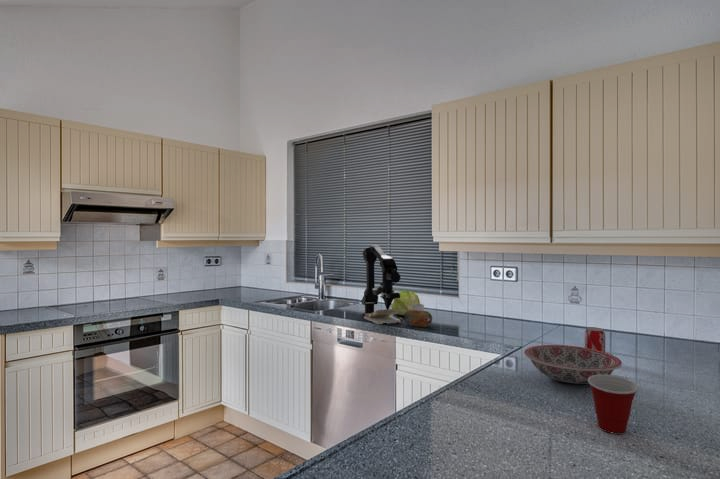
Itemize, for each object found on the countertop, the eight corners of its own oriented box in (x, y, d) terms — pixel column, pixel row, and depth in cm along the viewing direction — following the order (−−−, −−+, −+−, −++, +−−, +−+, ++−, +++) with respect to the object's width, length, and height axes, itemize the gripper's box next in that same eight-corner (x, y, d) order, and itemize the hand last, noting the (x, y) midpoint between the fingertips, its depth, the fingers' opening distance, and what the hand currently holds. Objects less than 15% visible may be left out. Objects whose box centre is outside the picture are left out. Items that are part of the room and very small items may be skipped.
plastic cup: (590, 435, 104) (590, 385, 104) (584, 417, 114) (585, 372, 114) (643, 443, 100) (643, 391, 100) (632, 424, 110) (632, 377, 110)
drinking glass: (419, 324, 233) (419, 306, 233) (409, 322, 238) (409, 304, 237) (426, 322, 238) (426, 304, 238) (416, 321, 243) (416, 303, 242)
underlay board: (364, 318, 250) (364, 313, 250) (385, 316, 256) (385, 312, 256) (377, 324, 234) (377, 319, 234) (400, 322, 239) (400, 317, 239)
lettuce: (394, 321, 247) (398, 296, 245) (388, 308, 271) (392, 286, 270) (423, 325, 248) (427, 301, 247) (415, 312, 273) (419, 290, 271)
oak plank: (368, 317, 246) (368, 314, 246) (388, 315, 251) (388, 313, 252) (378, 312, 234) (377, 310, 235) (399, 311, 239) (399, 308, 240)
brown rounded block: (403, 325, 232) (403, 309, 232) (406, 324, 235) (406, 308, 235) (430, 328, 225) (431, 311, 225) (432, 326, 228) (432, 310, 228)
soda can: (597, 363, 163) (597, 331, 163) (580, 358, 169) (580, 327, 169) (609, 360, 166) (609, 329, 166) (592, 356, 172) (592, 326, 172)
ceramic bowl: (620, 403, 124) (621, 375, 124) (515, 384, 140) (515, 359, 140) (622, 375, 149) (622, 352, 149) (532, 362, 164) (532, 341, 164)
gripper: (367, 279, 244) (367, 307, 244) (381, 283, 227) (381, 313, 227) (384, 279, 248) (384, 306, 248) (400, 282, 231) (400, 311, 231)
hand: (387, 309), depth 238 cm, fingers closed
